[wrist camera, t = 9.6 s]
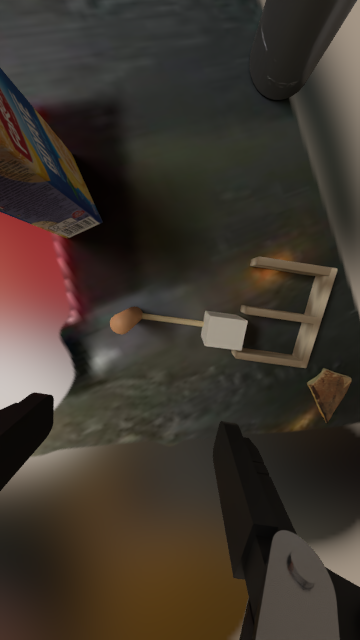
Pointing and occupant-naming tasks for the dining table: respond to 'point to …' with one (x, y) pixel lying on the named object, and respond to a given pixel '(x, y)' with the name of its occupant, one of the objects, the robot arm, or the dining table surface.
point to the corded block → (215, 326)
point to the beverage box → (39, 170)
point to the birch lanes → (308, 319)
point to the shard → (328, 391)
